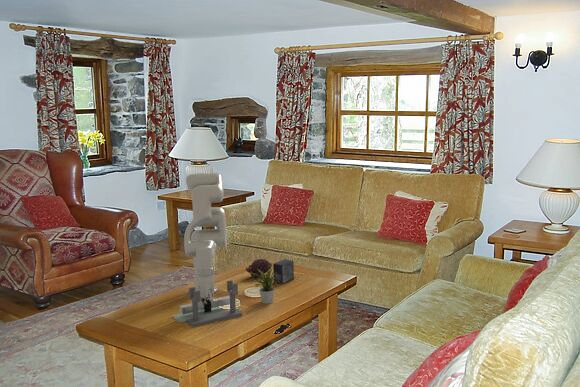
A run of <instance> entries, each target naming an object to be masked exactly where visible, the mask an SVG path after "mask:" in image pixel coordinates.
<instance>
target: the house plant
mask: <svg viewBox="0 0 580 387" xmlns="http://www.w3.org/2000/svg"><path fill="white" fill-rule="evenodd" d="M257 270H258V269H257ZM259 271H260V270H259ZM273 272H274V270H273V267H271V269H270V270H268V272H267V273H266V275H265V274H264V273H263V272H261V271H260V273H261V275H262V276H259V275H258V276H259V278H257V279H258V280H254V279H253V280H251V281H252V282H253V283H255V284H254V286H255V288H257V287H259V286H261V287H260V288H259V293H260V294H259V295H260V300H261V303H262V304H265V305H266V304H268V305H269V304H272V303H273V302H274V295H275V294H274V293H275V288H274V286H273V284H276V283H275V282H274V278H275V277H276V276H275V277H274V275H275V273H274V275H273ZM256 275H257V274H256ZM276 282H279V281H276Z"/></svg>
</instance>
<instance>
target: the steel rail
mask: <svg viewBox="0 0 580 387" xmlns="http://www.w3.org/2000/svg"><path fill="white" fill-rule="evenodd" d="M211 302H212V303H211V308H215V307H219V306H224V305H229V304H230V295H225V296H221V297H217V298H213V301H211ZM204 304H205V301H201V300H200V302H198V311H201V310H204ZM192 312H193V308H192V302H191V303H187V304H183V305H179V314H187V313H192Z"/></svg>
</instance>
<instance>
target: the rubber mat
mask: <svg viewBox="0 0 580 387" xmlns="http://www.w3.org/2000/svg"><path fill="white" fill-rule="evenodd" d="M236 309H237V310H239V311H240V308H239V307H238V306H236ZM228 310H230V309H223V308H219V307H215V308H211V312H206V313H205V312H204V310H201V311H198V317H201V316H205V315H210V314H215V313H219V312H224V311H228ZM171 316H172V318H174V319H175V320H176V321H177V322H178V323H179V324H182V323H187V319H192V318H193V312H192V313H187V314H181V313H179V314H173V315H171Z"/></svg>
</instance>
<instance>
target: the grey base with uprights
mask: <svg viewBox="0 0 580 387" xmlns="http://www.w3.org/2000/svg"><path fill="white" fill-rule="evenodd" d="M238 285H239V284H238V282H234V281H233V279H229V280H226V292H227V293H228V294H229V297H230V310H228V311H224V312H219V313H215V314H210V315H205V316H201V317H198V302H201V300H200V291H199V290H197V291H195V286H193V287H189V289H188V290H189V293H188V294H189V295H188V296H189V300H191V303H192V308H193V318H192V319H187V322H186V324H187V325H189V326H190V327H191V328H195V327H201V326H205V325H208V324H212V323H213V324H214V323H217V322H222V321H226V320H230V319H235V318H239V317H240V318H241V317H243V312H242V311H240V309H239V310H237V309H236V307H237V305H236V296H237V295H238V293H239V291H238V290H239V286H238Z"/></svg>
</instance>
